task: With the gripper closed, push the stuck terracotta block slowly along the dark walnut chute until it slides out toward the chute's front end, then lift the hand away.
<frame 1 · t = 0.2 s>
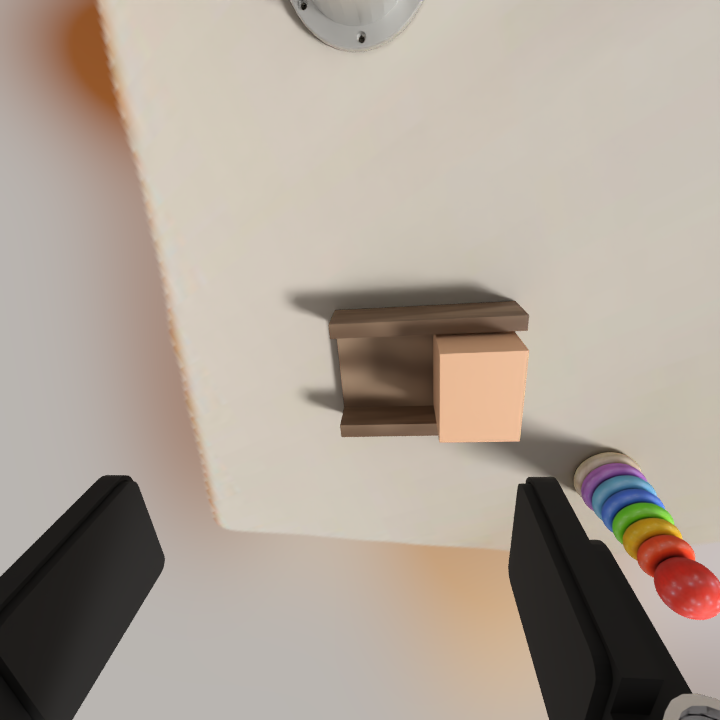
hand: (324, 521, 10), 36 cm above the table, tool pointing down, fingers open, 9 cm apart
stacking toy: (602, 472, 52), on the table
chute: (423, 362, 48), on the table
jammed block: (474, 381, 42), point 5 cm above the table, slide at 0.0 cm
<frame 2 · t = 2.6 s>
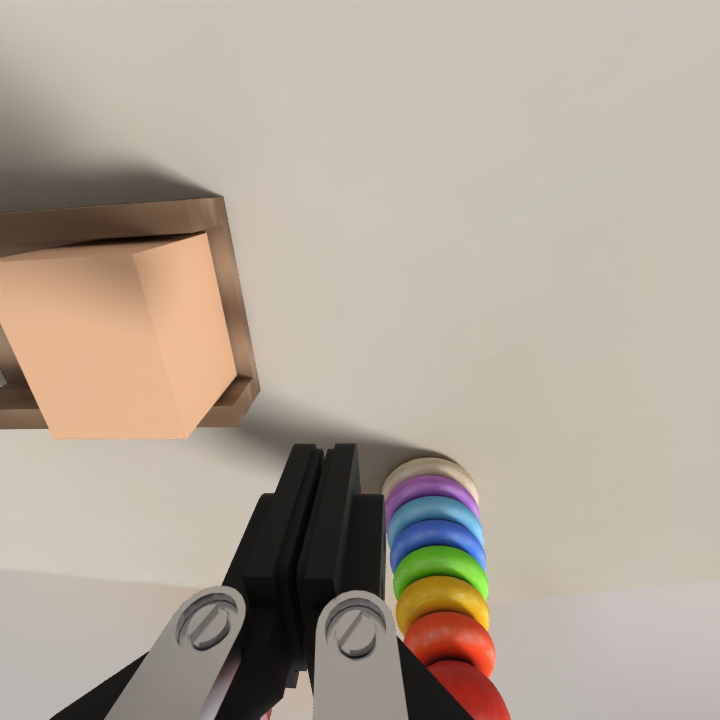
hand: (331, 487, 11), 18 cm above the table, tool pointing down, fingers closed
stacking toy: (428, 488, 34), on the table
chute: (111, 309, 29), on the table
jammed block: (133, 331, 24), point 5 cm above the table, slide at 0.0 cm
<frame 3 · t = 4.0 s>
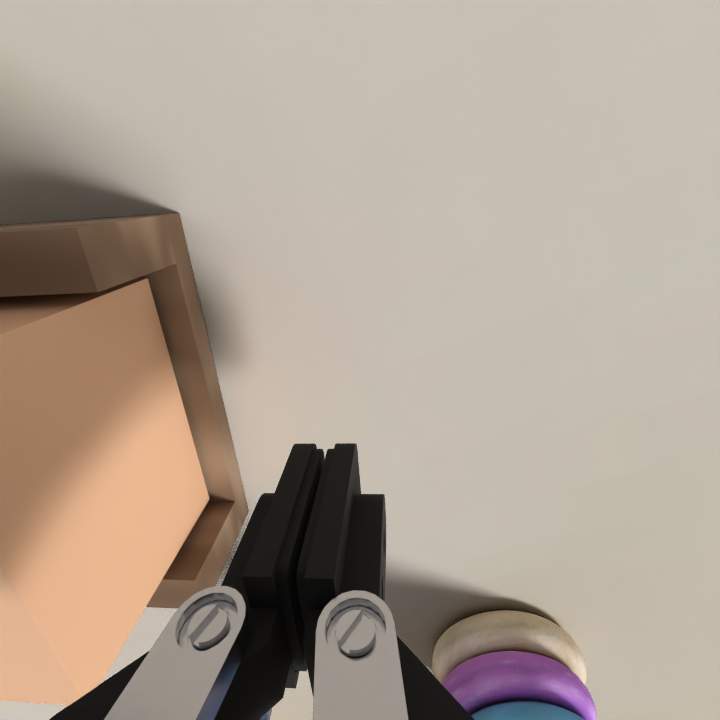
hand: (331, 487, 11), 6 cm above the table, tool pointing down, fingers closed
stacking toy: (500, 645, 23), on the table
chute: (8, 390, 18), on the table
jammed block: (5, 465, 13), point 5 cm above the table, slide at 0.0 cm
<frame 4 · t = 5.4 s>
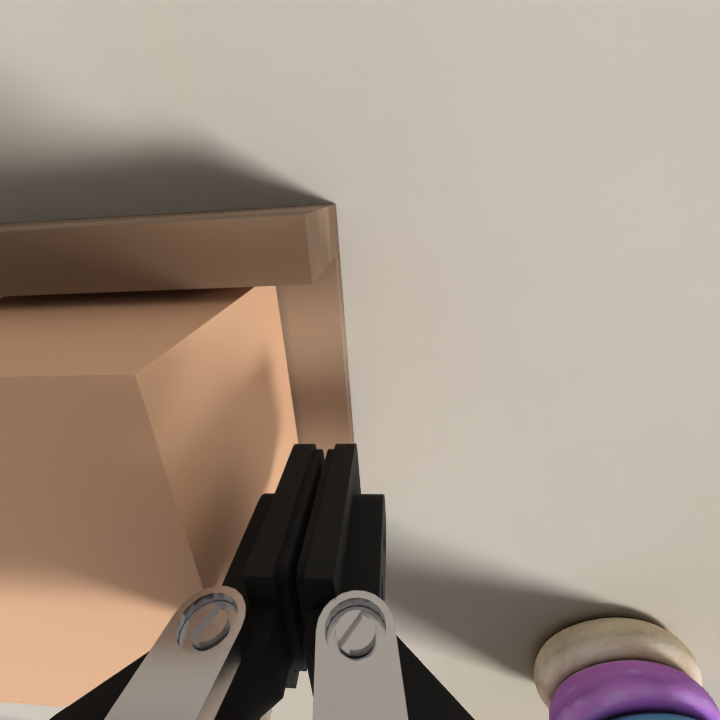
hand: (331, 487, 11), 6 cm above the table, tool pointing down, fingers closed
stacking toy: (602, 652, 22), on the table
chute: (122, 388, 17), on the table
jammed block: (135, 466, 12), point 5 cm above the table, slide at 1.1 cm, touching gripper
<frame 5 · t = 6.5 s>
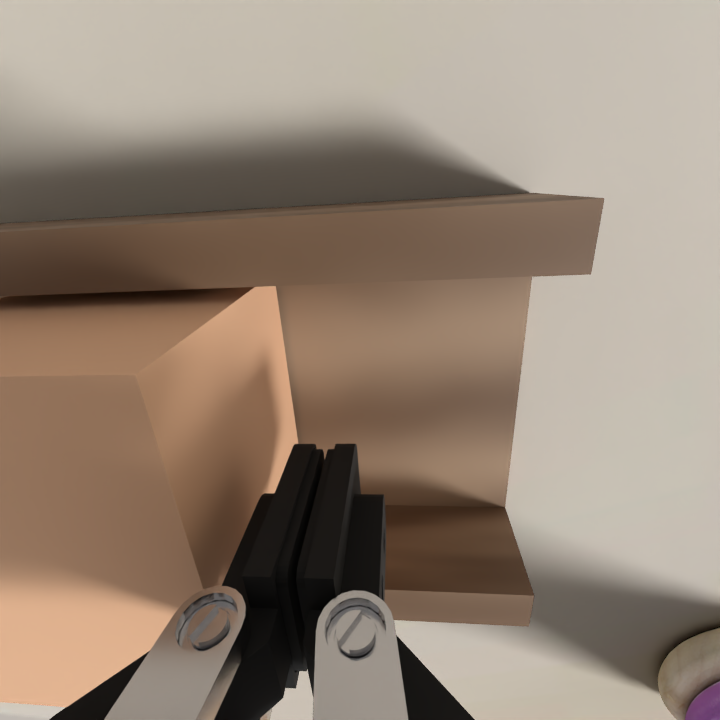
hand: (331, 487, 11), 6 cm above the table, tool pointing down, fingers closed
chute: (265, 387, 17), on the table
jammed block: (135, 466, 12), point 5 cm above the table, slide at 7.5 cm, touching gripper
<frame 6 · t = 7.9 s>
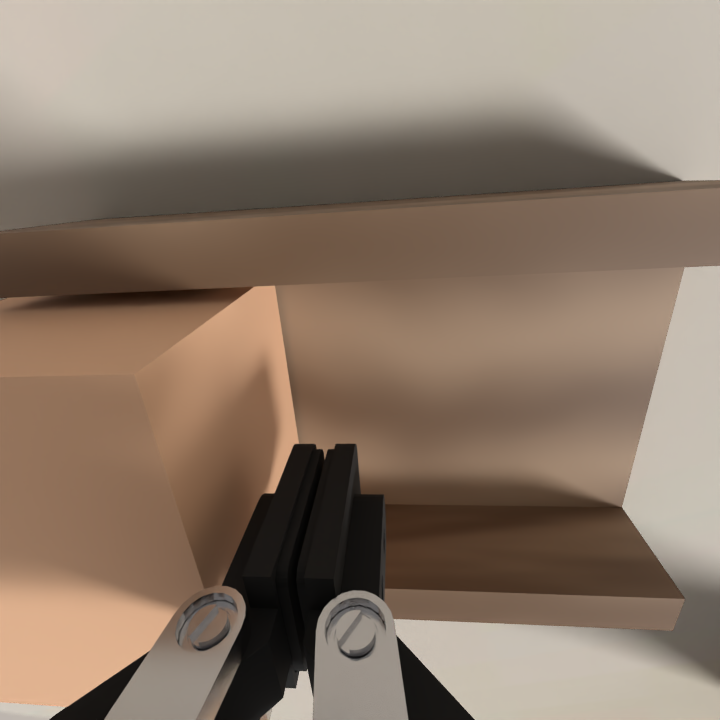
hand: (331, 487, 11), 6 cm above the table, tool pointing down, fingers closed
chute: (376, 385, 16), on the table
jammed block: (136, 467, 12), point 5 cm above the table, slide at 12.2 cm, touching gripper
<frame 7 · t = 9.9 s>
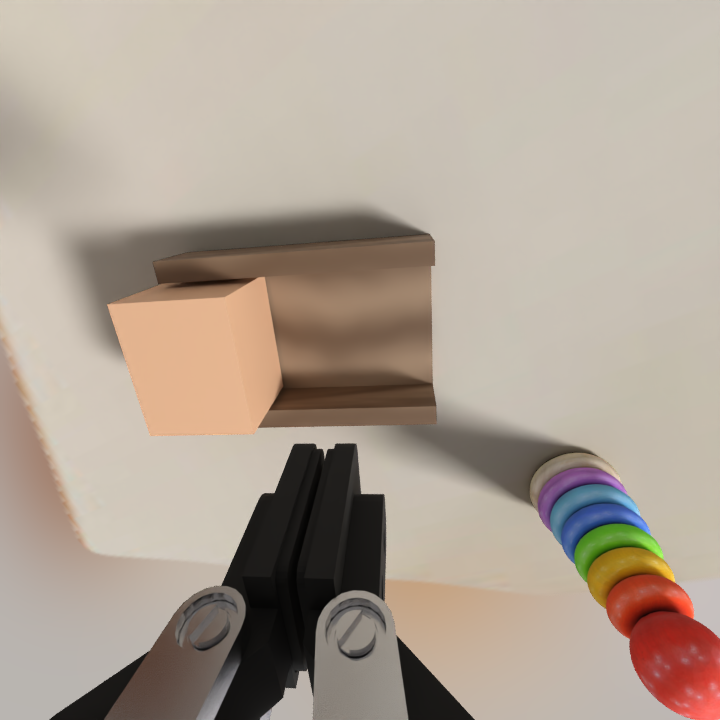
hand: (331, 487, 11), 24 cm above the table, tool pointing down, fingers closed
stacking toy: (569, 481, 39), on the table
chute: (314, 326, 35), on the table
jammed block: (209, 351, 31), point 5 cm above the table, slide at 12.2 cm
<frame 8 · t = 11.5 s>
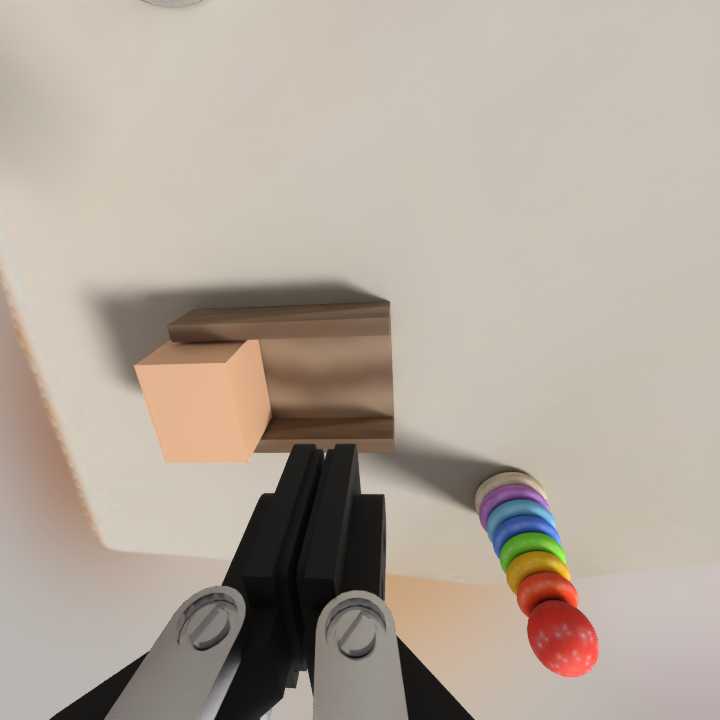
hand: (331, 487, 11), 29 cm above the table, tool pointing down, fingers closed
stacking toy: (507, 494, 47), on the table
chute: (297, 369, 42), on the table
jammed block: (212, 394, 38), point 5 cm above the table, slide at 12.2 cm
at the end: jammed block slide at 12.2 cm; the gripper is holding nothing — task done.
